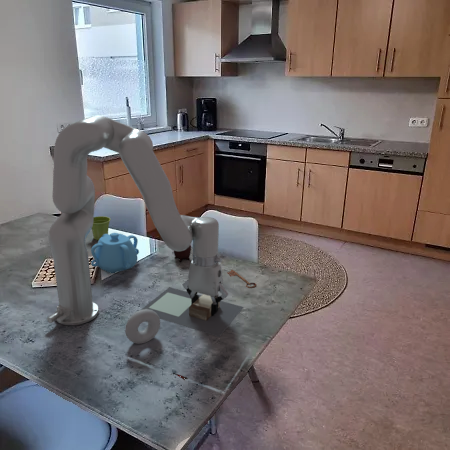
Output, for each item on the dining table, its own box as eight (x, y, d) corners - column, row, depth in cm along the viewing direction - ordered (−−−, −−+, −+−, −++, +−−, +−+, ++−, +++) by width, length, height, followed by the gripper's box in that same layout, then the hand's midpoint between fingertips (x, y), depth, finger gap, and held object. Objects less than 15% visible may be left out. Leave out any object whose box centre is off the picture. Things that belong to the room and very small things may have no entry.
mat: (219, 338, 116) (219, 336, 115) (138, 313, 127) (138, 311, 126) (243, 308, 131) (243, 306, 131) (169, 288, 142) (169, 286, 142)
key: (223, 274, 155) (244, 291, 143) (223, 272, 155) (244, 289, 142) (236, 270, 157) (258, 286, 145) (236, 267, 157) (257, 284, 145)
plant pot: (116, 237, 185) (115, 218, 182) (100, 243, 177) (98, 224, 175) (101, 232, 190) (100, 214, 187) (85, 238, 182) (83, 220, 179)
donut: (157, 333, 117) (156, 302, 114) (162, 339, 115) (162, 308, 111) (124, 344, 112) (122, 312, 108) (129, 351, 109) (127, 319, 106)
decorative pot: (86, 273, 151) (82, 239, 146) (105, 256, 165) (103, 224, 161) (128, 278, 148) (125, 244, 143) (144, 260, 163) (142, 228, 158)
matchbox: (164, 379, 100) (164, 377, 100) (179, 368, 104) (179, 367, 104) (178, 388, 97) (178, 386, 97) (193, 377, 101) (193, 375, 101)
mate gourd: (188, 263, 161) (188, 228, 156) (169, 261, 162) (168, 226, 157) (192, 255, 168) (192, 221, 163) (174, 254, 169) (173, 220, 164)
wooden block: (206, 320, 123) (206, 312, 122) (189, 315, 125) (189, 306, 124) (219, 306, 131) (219, 298, 130) (202, 302, 133) (202, 294, 132)
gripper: (236, 259, 122) (234, 312, 128) (186, 248, 128) (186, 298, 134) (226, 269, 115) (224, 324, 121) (173, 257, 122) (174, 309, 128)
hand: (204, 310), depth 128 cm, fingers closed on wooden block, 5 cm apart
